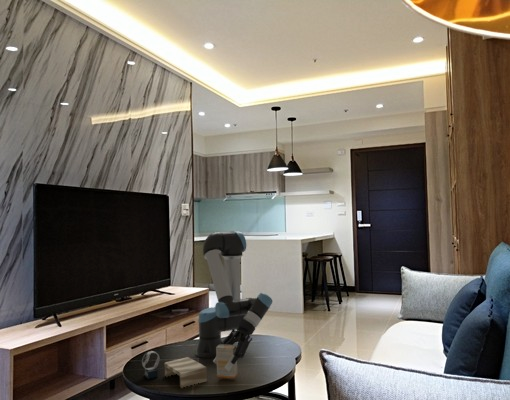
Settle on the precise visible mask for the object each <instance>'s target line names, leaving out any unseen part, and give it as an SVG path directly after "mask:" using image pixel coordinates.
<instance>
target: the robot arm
mask: <svg viewBox="0 0 510 400" xmlns="http://www.w3.org/2000/svg"><path fill="white" fill-rule="evenodd" d="M246 250H247V239H246V237H245V235H244V233H243V232H242V231H238V230H229V231H215V232H212V233H210V234H209V235H208V236H207V237H206V238H205V240H204V242H203V245H202V254H203V258H204V259H205V261H207V262H206V263H207V266H208V269H209V273H210V276H211V279H212V280H211V281H212V284H213V287H214V291H215V295H216V298H217V302H216V303H215V305H214V307H213V306H212V307H208V308H204V309H202V310H201V311H200V312H199V314H198V343H197V345H196V350H195V352H196V353H195V355H196V357H199V358H203V359H211V358H214V359H213V360H212V362H213V363H214V364H215V365H216V366H217V358H216V347H217V346H218V345H220V344H226V345H235V344H236V343H237V345H236V352H235V353H234V355H232V357H231V358H230V360H229V361H228V363H227V364H226V366H225V367H224V368H225V369H226V370H227V371H230V369H231V368H232V366H233V365H234V364H235V363H236V361H237V362H238V360H239V359H243V358H244V357H245V354H246V352H247V349H248V347H249V345H250V343H251V342H252V341H253V337H251V336H252V335H253V334H254V332H255V331H256V328H257V327H258V326H259V324H260V323H261V321H262V320H263V318H264V316H265V315H266V314H267V312H268V311H269V309H270V308H271V306H272V304H273V299H272V297H271V296H269V295H268V294H266V293H264V292H260V293H259V294H258V295H257V297H255V298H254V297H246V298H241V297H242V296H241V261H240V260H241V258H242V256H243V253H244V252H246ZM222 258H223V259H222ZM223 262H224V263H223ZM229 331H230V333H229V334H228V335H227V336H226V338H224V340H222V333H223V332H229Z"/></svg>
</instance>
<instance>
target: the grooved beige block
mask: <svg viewBox="0 0 510 400" xmlns="http://www.w3.org/2000/svg"><path fill="white" fill-rule="evenodd" d="M207 373H208V372H207V366H205V365H204V364H202V363H200V362H198V361H197V360H194V359H192V358H190V357H189V356H186V357H183V358H178V359H174V360H169V361H166V362H164V377H165V376H166V378H168V376H169V377H172V376H171V375H173V376H176V374H177V376H179V387H180V388H181V389H184V388H183V387H185V388H187V387H186V386H188V387H191V386H190V385H192V386H195V385H199V384H201V383H206V382H207V381H208V378H207V377H208V376H207ZM198 383H199V384H198ZM194 384H195V385H194Z"/></svg>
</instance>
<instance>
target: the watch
mask: <svg viewBox="0 0 510 400" xmlns="http://www.w3.org/2000/svg"><path fill="white" fill-rule="evenodd" d="M152 354H156V356H157V358H156V361H155V363H154V364H153V366H151V367H146V365H147V364H148V362H149V360H150V357H151V355H152ZM160 360H161V358H160V354H159V353H157V352H156V351H153V350H150V351H147V352H145V353H144V354H143V356H142V358H141V364H142V365H141V366H142V367H143V369H144V377H145V378H147V379H148V380H150V378H152V379H155V378H154V377H156V378H158V377H159V376H158V375H159V374H158V371H159V370H158V369H157V368H158V366H159V364H160Z"/></svg>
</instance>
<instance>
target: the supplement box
mask: <svg viewBox="0 0 510 400" xmlns="http://www.w3.org/2000/svg"><path fill="white" fill-rule="evenodd" d="M236 348H237V345H236V344H233V345H226V344H220V345H218V346H217V347H216V357H215V358H217V365H216V376H217V378H228V379H234V378H236V376H237V375H238V360H237V361H236V363H235V364H234V365H233V366H232V368H231V369H230V371H227V370H226V369H225V368H224V367H225V366H226V364H227V363H228V361H229V360H230V358H231V357H232V355H234V353H235V352H236Z"/></svg>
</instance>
